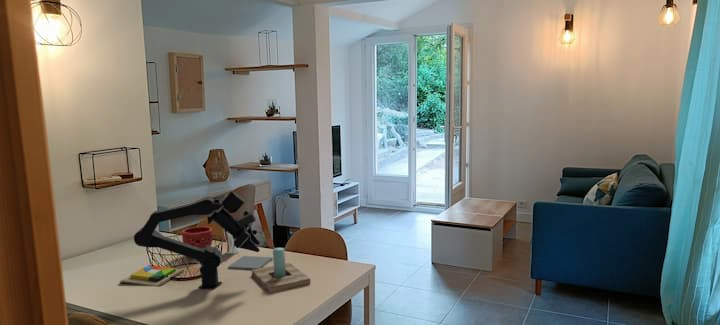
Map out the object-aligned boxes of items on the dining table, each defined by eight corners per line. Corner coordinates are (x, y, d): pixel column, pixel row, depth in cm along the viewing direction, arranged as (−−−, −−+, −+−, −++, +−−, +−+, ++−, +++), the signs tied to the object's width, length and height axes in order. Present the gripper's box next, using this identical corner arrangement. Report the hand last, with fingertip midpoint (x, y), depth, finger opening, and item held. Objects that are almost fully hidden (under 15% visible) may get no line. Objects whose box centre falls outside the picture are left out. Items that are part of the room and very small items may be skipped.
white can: (242, 249, 236) (240, 218, 234) (237, 254, 229) (235, 222, 227) (228, 249, 237) (226, 218, 235) (223, 254, 230) (220, 222, 228)
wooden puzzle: (161, 287, 194) (160, 278, 193) (118, 285, 197) (117, 276, 197) (185, 271, 210) (185, 263, 210) (145, 270, 214) (144, 262, 214)
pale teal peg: (283, 281, 194) (281, 251, 192) (272, 280, 195) (271, 250, 193) (287, 277, 198) (286, 247, 196) (277, 276, 199) (275, 247, 197)
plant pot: (208, 259, 224) (206, 232, 223) (179, 259, 225) (177, 233, 223) (217, 249, 237) (215, 225, 236) (190, 250, 238) (187, 226, 236)
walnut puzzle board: (310, 283, 191) (310, 278, 190) (269, 292, 183) (269, 287, 183) (289, 267, 210) (289, 262, 210) (252, 274, 202) (251, 270, 202)
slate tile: (258, 270, 207) (258, 268, 207) (228, 268, 211) (227, 266, 211) (272, 259, 221) (272, 257, 221) (243, 257, 224) (243, 255, 224)
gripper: (240, 211, 181) (273, 238, 185) (242, 201, 199) (272, 225, 203) (219, 234, 181) (253, 261, 184) (223, 222, 199) (254, 246, 202)
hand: (259, 247), depth 193 cm, fingers open, 9 cm apart
